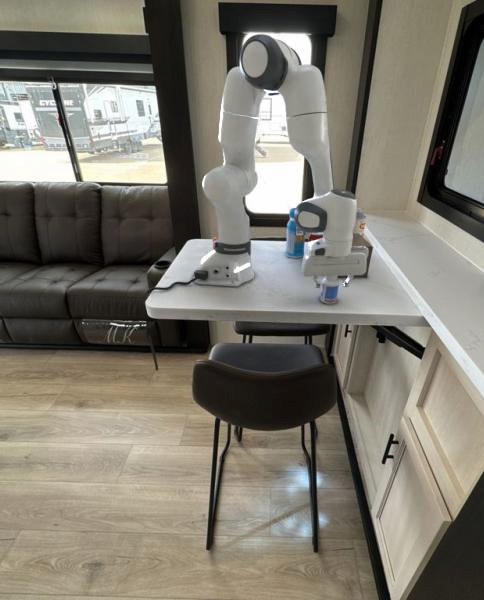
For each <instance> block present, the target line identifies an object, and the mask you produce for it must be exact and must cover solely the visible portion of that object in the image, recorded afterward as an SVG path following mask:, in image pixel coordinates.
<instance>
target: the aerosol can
mask: <svg viewBox="0 0 484 600" xmlns="http://www.w3.org/2000/svg"><path fill="white" fill-rule="evenodd" d="M366 220H367V216H366V215H365V213H364V212H363V211H362V207H361V208H360V207H357V213H356V221H355V226H354V228H353V233H359V234H360V235H361V236H362V237H363V238H364V232H365V228H366V227H365V226H366Z"/></svg>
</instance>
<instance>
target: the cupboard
mask: <svg viewBox="0 0 484 600" xmlns="http://www.w3.org/2000/svg"><path fill="white" fill-rule="evenodd" d="M352 246H365V247H366V248H368V250H369V253H368V257H367V266H366V272H365V273H364V274H363V275H354V278H353V279H356V278H357V279H360V278H361V279H363V278H365V279H366V278H368V274H369V271H370V270H369V268H370V265H371V260H372V255H373V250H374V246H373V245H372V244H371V243H370V242H369V241H368V240H367V239H365V237H364V236H363V237H362V236H361V235H360V234H359V233H353V241H352ZM347 278H348V275H346V276H339V278H338V279H347Z"/></svg>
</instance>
